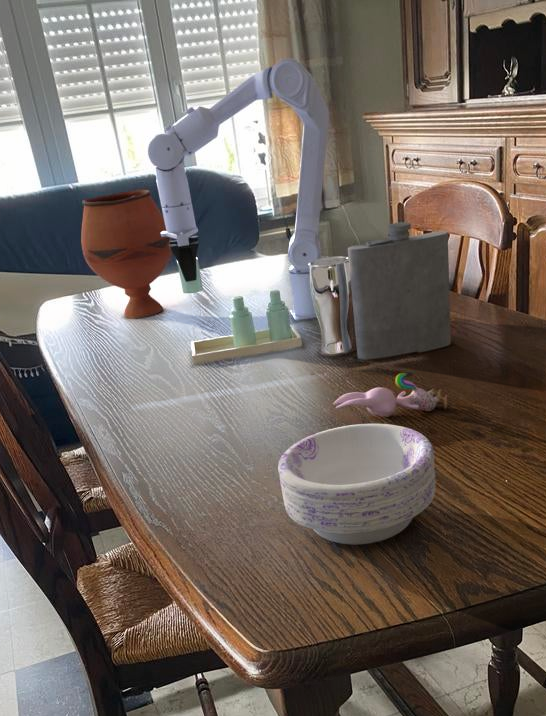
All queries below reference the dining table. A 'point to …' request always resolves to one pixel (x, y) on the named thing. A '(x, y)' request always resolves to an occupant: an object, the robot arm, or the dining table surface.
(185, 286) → the loose bottle
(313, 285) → the beer glass
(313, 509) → the paper bowls
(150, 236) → the goblet
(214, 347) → the tray
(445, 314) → the hip flask
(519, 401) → the dining table surface
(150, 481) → the dining table surface
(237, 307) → the bottle
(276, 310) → the bottle
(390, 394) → the rabbit figure
